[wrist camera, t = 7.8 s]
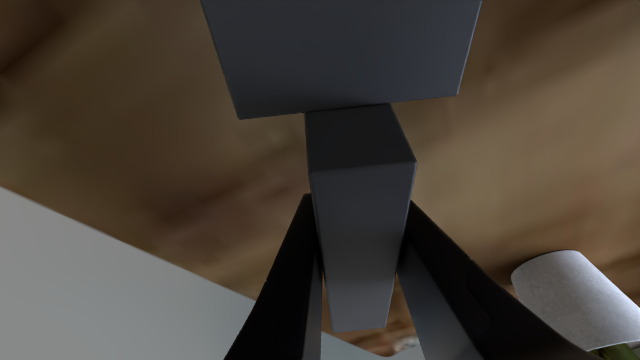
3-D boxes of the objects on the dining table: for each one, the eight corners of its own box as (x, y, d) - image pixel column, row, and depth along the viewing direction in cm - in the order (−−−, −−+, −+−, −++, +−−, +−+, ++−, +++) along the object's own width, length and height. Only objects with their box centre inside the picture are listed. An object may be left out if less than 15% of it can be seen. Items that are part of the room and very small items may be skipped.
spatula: (109, -319, 4) (-98, -552, 2) (557, -373, 4) (879, -680, 2) (291, 274, 14) (291, 338, 12) (407, 262, 14) (426, 323, 12)
